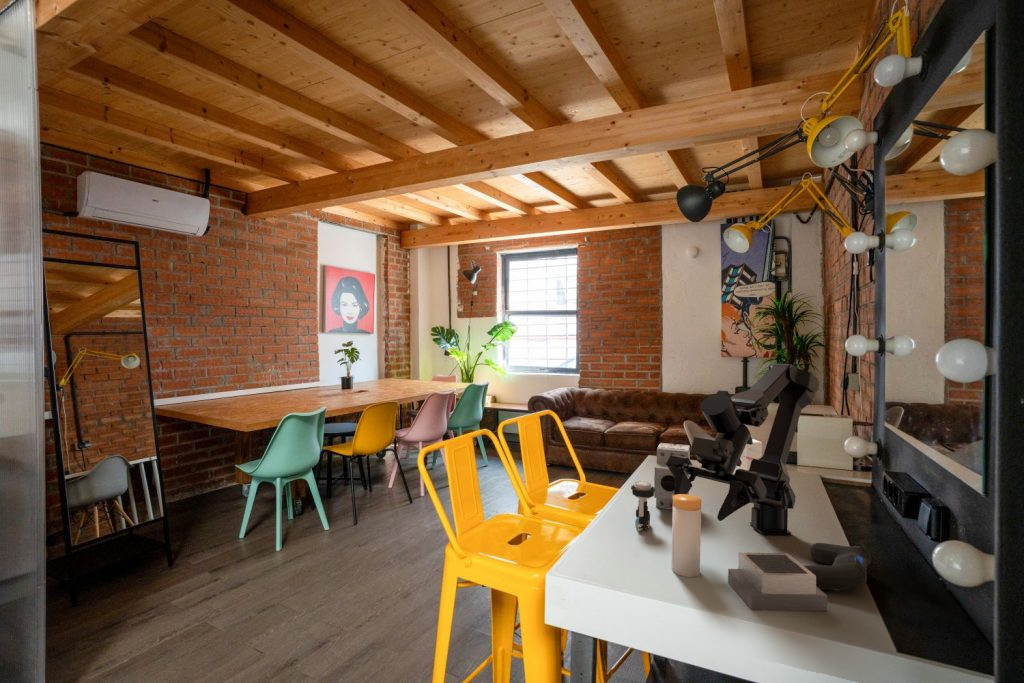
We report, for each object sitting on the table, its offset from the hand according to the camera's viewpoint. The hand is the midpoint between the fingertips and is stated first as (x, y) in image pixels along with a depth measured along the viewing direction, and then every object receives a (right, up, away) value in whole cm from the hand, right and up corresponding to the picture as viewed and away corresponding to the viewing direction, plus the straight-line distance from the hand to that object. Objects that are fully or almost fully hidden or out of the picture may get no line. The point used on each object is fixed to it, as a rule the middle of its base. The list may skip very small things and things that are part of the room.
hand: (696, 512), depth 97 cm
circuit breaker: (+6, -10, +33) cm, 35 cm away
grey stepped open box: (+9, -10, -11) cm, 18 cm away
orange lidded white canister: (-3, -10, -2) cm, 11 cm away
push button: (-5, -10, +19) cm, 22 cm away
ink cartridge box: (+39, -10, +64) cm, 75 cm away
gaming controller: (+24, -11, -4) cm, 27 cm away
